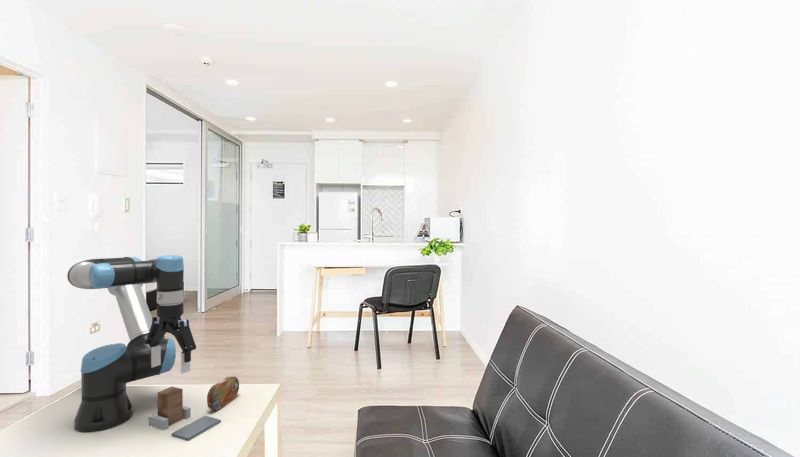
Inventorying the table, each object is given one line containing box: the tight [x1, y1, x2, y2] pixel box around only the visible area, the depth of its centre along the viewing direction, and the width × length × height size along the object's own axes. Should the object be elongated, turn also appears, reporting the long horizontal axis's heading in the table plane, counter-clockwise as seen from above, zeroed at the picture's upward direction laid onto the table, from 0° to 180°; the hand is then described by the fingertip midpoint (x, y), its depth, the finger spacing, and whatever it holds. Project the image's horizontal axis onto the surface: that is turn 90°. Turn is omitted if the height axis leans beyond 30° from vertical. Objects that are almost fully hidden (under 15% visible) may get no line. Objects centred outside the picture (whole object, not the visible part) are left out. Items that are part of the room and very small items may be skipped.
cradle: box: [148, 405, 192, 431], centre depth 128 cm, size 7×10×3 cm
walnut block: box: [157, 386, 184, 427], centre depth 128 cm, size 5×5×10 cm
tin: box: [206, 376, 240, 411], centre depth 141 cm, size 15×3×8 cm, turn 168°
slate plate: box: [171, 415, 222, 442], centre depth 124 cm, size 7×12×1 cm, turn 157°
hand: (170, 369), depth 128 cm, fingers open, 13 cm apart
